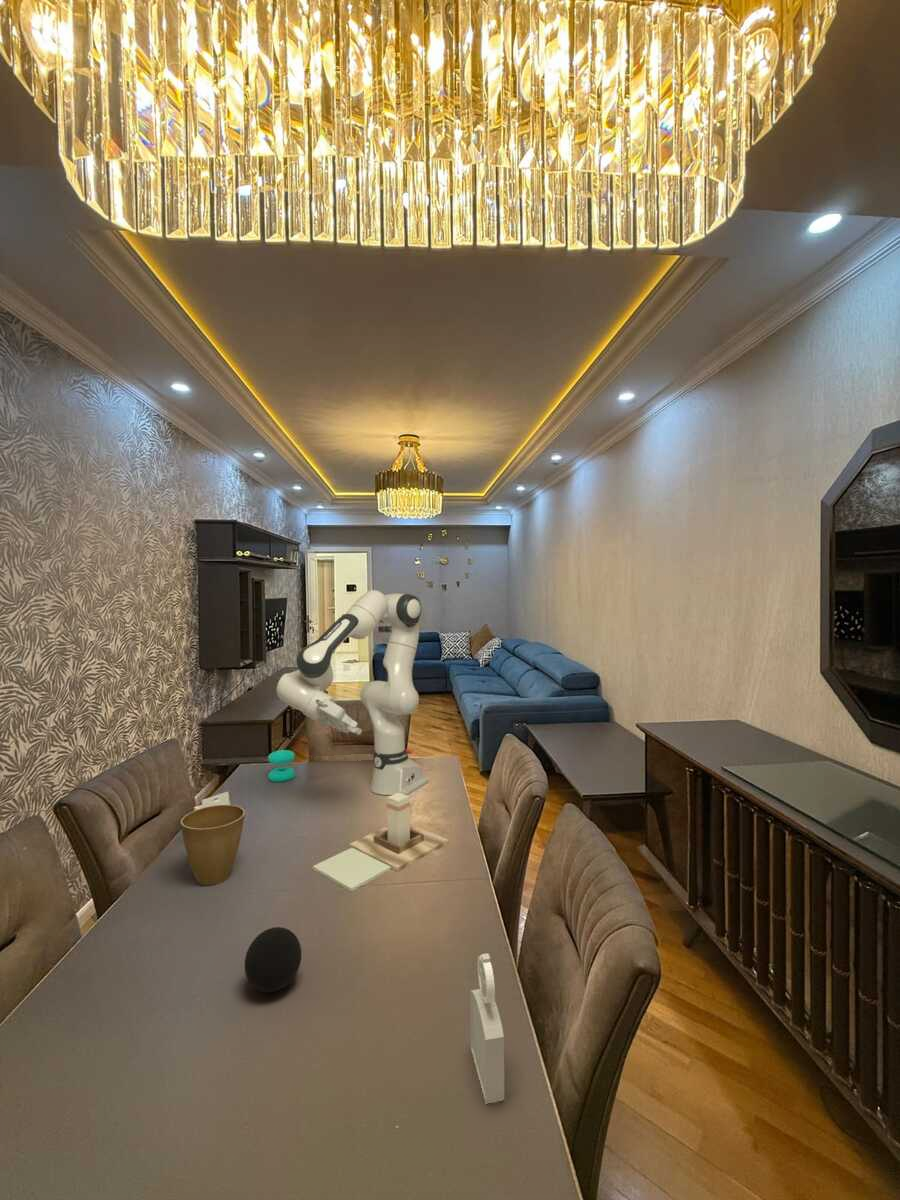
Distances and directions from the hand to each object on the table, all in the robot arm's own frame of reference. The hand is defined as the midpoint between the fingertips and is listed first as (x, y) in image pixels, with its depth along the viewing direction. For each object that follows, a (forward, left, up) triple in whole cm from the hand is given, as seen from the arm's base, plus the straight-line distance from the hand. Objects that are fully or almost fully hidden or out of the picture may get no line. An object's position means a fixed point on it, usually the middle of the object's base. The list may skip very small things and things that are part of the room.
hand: (358, 729), depth 162 cm
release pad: (+17, +17, -30) cm, 39 cm away
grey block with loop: (+41, +79, -31) cm, 94 cm away
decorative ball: (+52, +38, -31) cm, 71 cm away
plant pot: (+42, -7, -31) cm, 52 cm away
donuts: (-8, -57, -31) cm, 65 cm away
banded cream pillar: (0, +17, -30) cm, 35 cm away
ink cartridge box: (+34, -25, -31) cm, 52 cm away
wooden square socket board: (0, +17, -30) cm, 35 cm away
